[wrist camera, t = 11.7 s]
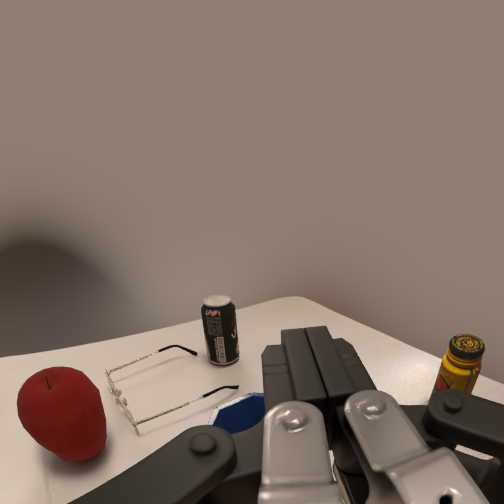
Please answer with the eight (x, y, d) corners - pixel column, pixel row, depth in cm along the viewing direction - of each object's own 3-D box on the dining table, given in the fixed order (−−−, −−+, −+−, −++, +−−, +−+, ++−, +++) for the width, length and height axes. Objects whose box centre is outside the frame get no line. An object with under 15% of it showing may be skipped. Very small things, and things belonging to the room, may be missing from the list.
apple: (96, 411, 37) (67, 339, 34) (138, 451, 30) (105, 375, 27) (37, 442, 28) (-4, 369, 24) (69, 493, 21) (14, 419, 18)
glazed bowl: (333, 475, 26) (344, 432, 24) (250, 525, 20) (244, 493, 18) (275, 426, 35) (275, 381, 33) (200, 461, 29) (187, 417, 27)
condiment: (414, 411, 34) (435, 342, 31) (444, 385, 37) (463, 320, 34) (450, 434, 27) (481, 364, 24) (478, 404, 31) (503, 337, 28)
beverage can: (229, 346, 57) (223, 290, 54) (245, 359, 52) (240, 299, 49) (203, 356, 54) (194, 298, 50) (218, 371, 49) (209, 309, 46)
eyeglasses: (104, 384, 44) (96, 361, 43) (193, 351, 55) (189, 329, 54) (136, 443, 32) (125, 418, 31) (245, 392, 43) (242, 367, 42)
